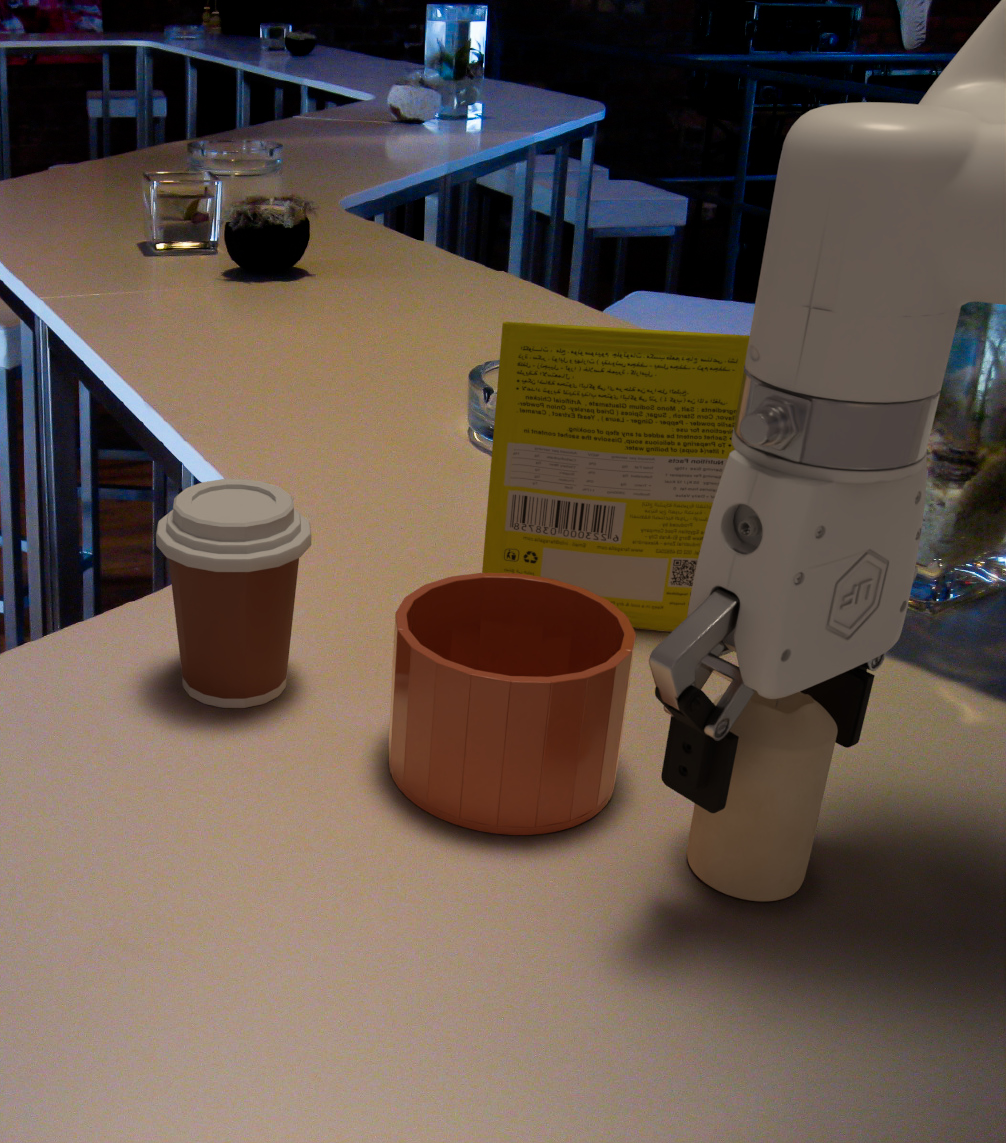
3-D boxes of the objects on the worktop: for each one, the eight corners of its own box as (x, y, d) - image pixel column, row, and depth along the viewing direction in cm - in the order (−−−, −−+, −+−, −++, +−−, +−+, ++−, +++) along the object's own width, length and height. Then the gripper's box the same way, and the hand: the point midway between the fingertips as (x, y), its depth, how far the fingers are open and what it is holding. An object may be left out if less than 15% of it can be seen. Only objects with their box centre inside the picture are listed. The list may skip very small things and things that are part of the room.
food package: (715, 632, 88) (766, 334, 79) (716, 640, 87) (768, 339, 78) (479, 609, 91) (503, 319, 82) (478, 616, 90) (502, 324, 81)
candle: (823, 866, 66) (864, 690, 61) (772, 919, 62) (811, 737, 58) (718, 819, 69) (749, 649, 65) (664, 867, 66) (694, 691, 61)
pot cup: (504, 689, 81) (517, 554, 77) (662, 785, 72) (686, 638, 68) (344, 750, 75) (349, 608, 71) (494, 864, 66) (509, 707, 62)
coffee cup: (295, 728, 77) (298, 538, 72) (142, 711, 79) (135, 524, 74) (319, 653, 85) (323, 477, 80) (180, 639, 87) (176, 466, 82)
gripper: (776, 489, 48) (703, 869, 56) (1033, 407, 57) (941, 746, 64) (618, 430, 54) (571, 783, 62) (874, 364, 63) (806, 680, 70)
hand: (760, 764), depth 63 cm, fingers open, 9 cm apart
